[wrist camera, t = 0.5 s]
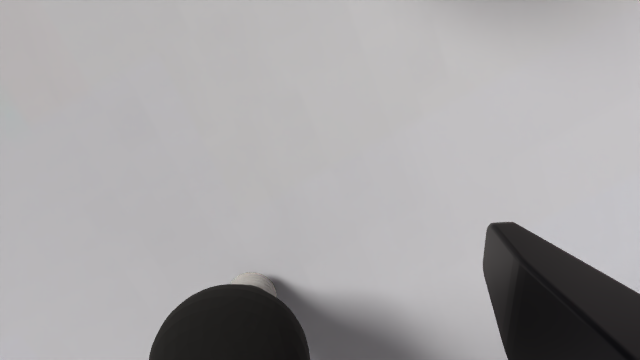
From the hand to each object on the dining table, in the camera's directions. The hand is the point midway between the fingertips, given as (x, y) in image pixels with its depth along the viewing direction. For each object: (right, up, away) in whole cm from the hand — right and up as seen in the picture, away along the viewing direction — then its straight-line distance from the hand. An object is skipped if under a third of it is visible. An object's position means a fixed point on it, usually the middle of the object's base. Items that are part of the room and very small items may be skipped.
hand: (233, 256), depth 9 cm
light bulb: (-2, -4, +17) cm, 18 cm away
